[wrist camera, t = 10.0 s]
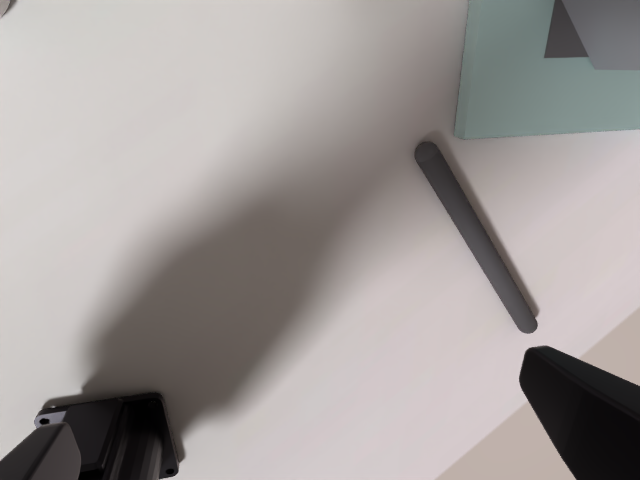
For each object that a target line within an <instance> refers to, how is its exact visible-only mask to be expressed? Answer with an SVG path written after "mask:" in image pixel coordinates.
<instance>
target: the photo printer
mask: <svg viewBox="0 0 640 480" xmlns="http://www.w3.org/2000/svg"><path fill="white" fill-rule="evenodd" d="M9 3H10V0H0V18H1V16H2V15H3V14H4V13H5V11H6V10H7V8H8V5H9Z"/></svg>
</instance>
